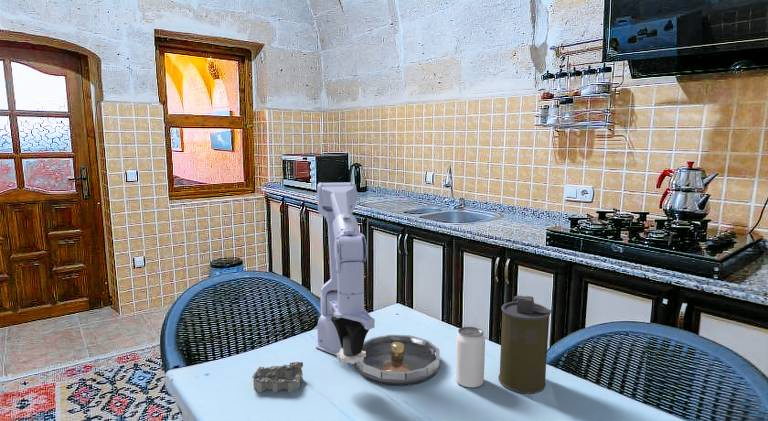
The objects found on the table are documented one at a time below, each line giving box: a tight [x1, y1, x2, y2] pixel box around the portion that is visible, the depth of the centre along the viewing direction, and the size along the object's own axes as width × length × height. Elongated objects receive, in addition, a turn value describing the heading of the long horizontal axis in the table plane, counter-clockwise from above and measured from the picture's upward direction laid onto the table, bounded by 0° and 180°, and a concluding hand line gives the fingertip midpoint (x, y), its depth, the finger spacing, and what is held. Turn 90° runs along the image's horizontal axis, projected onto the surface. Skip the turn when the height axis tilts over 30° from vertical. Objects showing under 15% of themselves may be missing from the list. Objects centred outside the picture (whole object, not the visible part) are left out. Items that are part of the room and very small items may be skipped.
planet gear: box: [336, 335, 366, 365], centre depth 101 cm, size 6×6×4 cm
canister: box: [498, 295, 553, 395], centre depth 104 cm, size 11×10×20 cm
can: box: [454, 326, 486, 389], centre depth 104 cm, size 6×6×12 cm
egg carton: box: [251, 361, 304, 393], centre depth 104 cm, size 11×8×4 cm
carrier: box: [355, 334, 441, 387], centre depth 113 cm, size 21×21×5 cm
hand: (351, 349), depth 102 cm, fingers closed on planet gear, 4 cm apart
